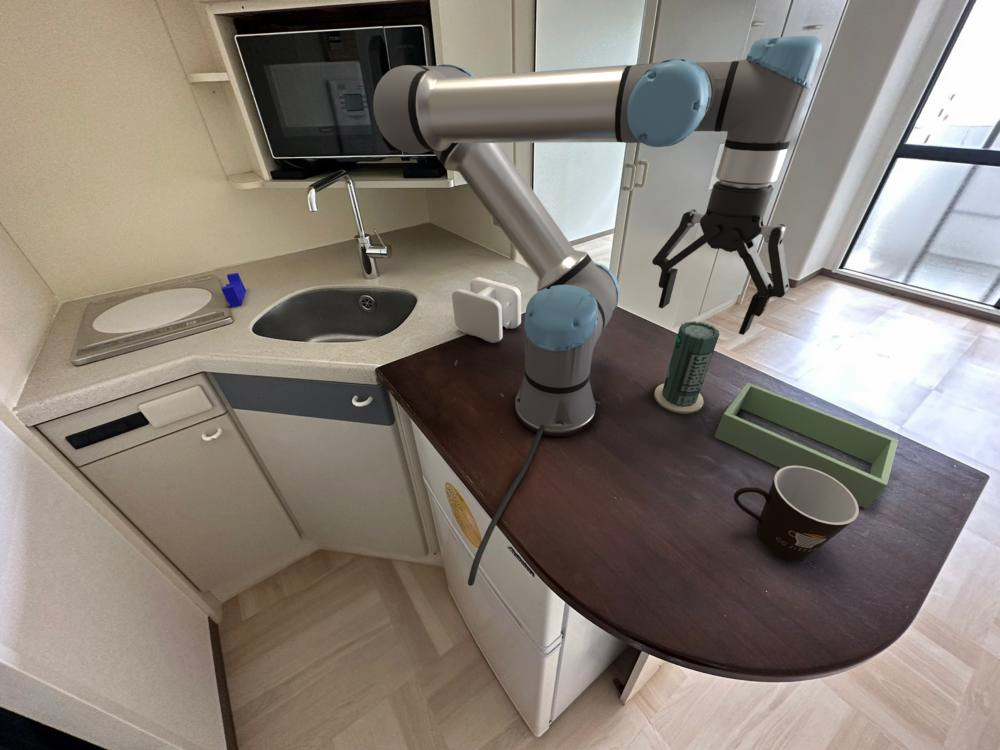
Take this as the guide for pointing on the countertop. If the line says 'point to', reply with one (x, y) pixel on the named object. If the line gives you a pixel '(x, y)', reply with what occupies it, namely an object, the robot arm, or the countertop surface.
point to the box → (815, 426)
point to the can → (689, 362)
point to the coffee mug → (801, 511)
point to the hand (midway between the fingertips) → (701, 317)
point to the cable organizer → (487, 309)
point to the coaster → (675, 408)
